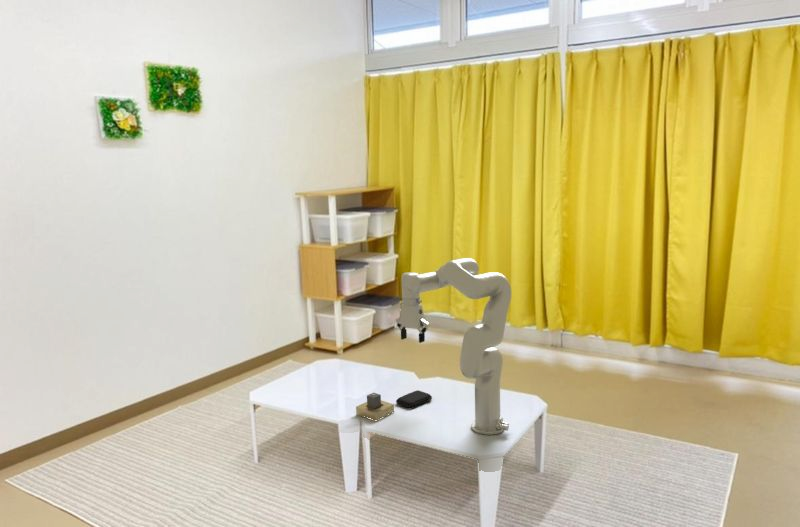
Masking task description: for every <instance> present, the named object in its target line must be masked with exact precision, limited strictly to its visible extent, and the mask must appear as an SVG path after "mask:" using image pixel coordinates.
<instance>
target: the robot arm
mask: <svg viewBox="0 0 800 527" xmlns="http://www.w3.org/2000/svg"><path fill="white" fill-rule="evenodd" d="M479 266H480V265H479V264H478V262H477V261H476V260H475V259H473V258H470V257H463V258H459V259H458V258H457V259H452V260H449V261H447V262H446V263H445V264H443V265H441V266H440V267H439V268H438V270H435V271H430V272H425V273H424V272H423V273H418V272H413V271H409V272H403V273H402V275H401V277H400V278H401V295H402V297H401V298H402V299H401V300H402V304H401V307H400V317H399V316H398V317H397V318H396V319H395V322H396V326H397V328H399V330H400V339H401V340H406V339H407V337H408V336H407V335H408V334H407V329H406V328H409V329H415V330H417V331H418V343H420V344H421V343H424V342H425V340H426V339H425V338H426V336H425V333H426V332H427V331H428V329H429V326H430V323H429V322H428V321H426V320H425V313H424V308H423V304H422V303H423V302H422V299H421V294H420V293H426V292H430V291H435V290H438V289H441V288H445V287H450V286H452V287H453V288H454V289H455V290H457V291H458V292H460V293H461V294H462V295H464V296H465V297H466V298H467V299H468V298H469V299H471V300H480V299H484V298H488V297H489V299H488V301H487V302H486V304H485V306H484V309H483V313H482V318H481V321H480V322H479V323H478V324H475V325H472V326H470V327H469V328H467V330H466V331H465V332H464V334H463V338H462V344H461V351H460V355H459V356H460V357H459V368H460V369H459V370H460V372H461V373H462V375H463V377H465V378H466V379H470V380H471V379H472V380H473V379H474V419H475V420H473V421H472V422H471V424H470V428H471V429H472V431H473V432H475V433H477V434H481V435H486V436H487V435H488V436H489V435H490V436H491V435H492V436H493V435H498V434H500V433H502V432H503V431H506V432H508V431H509V428H510V427H509V426H510V424H509V423H508V422H505V421H504V417H503V416H501V375H502V369H503V360H504V359H503V355H502V353H501V351H500V350H499V349H498V348H497V347H496V346H499V345H501V343H502V341H503V338H504V334H505V329H506V325H507V317H508V312H509V307H510V304H511V301H512V287H511V284H510V282H509V280H508V278H507V277H506V276H505V275H503V274H502V273H500V272H495V271H493V272H492V271H491V272H485V273H480V274H478V273H479V270H480V267H479Z"/></svg>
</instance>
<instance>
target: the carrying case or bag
mask: <svg viewBox="0 0 800 527" xmlns="http://www.w3.org/2000/svg"><path fill="white" fill-rule="evenodd" d="M432 399H433V397H432V395H431V394H430V393H427V392H424V391H422V390H413V391H412V392H409V393H407V394H404V395H402V396H400V397H398V398H397V399H396V400H395V403H396V404H397V405H398V404H399V406H400V405H401V407H403V406H404V407H403V408H406V409H409V408H411V409H414V408H417V407H418V406H421V405H424V404H425V403H427V402H428V403H429V402H430V401H432Z"/></svg>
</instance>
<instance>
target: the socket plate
mask: <svg viewBox="0 0 800 527" xmlns="http://www.w3.org/2000/svg"><path fill="white" fill-rule="evenodd" d="M355 410H356V412H355V413H356V416H359V417H361V416H365V417H368V418H371V419H373V420H378V419H380V418H382V417H384V416H386V415H388V414H390V413H392V412H394V413H395V405H394V403H392V402H391V403H390V402H388V401H385V400H381V407H379V408H377V409H372V408H369V407H367V401H365V402H363V403H361V404H359V405H356V406H355ZM392 414H393V413H392ZM390 415H391V414H390ZM388 416H389V415H388ZM386 417H387V416H386ZM384 418H385V417H384ZM382 419H383V418H382ZM373 420H372V421H373ZM380 420H381V419H380ZM378 421H379V420H378Z"/></svg>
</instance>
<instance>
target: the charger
mask: <svg viewBox="0 0 800 527" xmlns="http://www.w3.org/2000/svg"><path fill="white" fill-rule="evenodd" d="M381 401H382V398H381V394H379V393H376V392H372V393H368V394H367V395H366V402H367V407H369V408H372V409H377V408H379V407H381Z"/></svg>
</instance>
